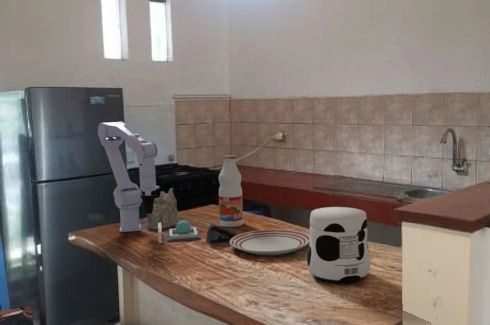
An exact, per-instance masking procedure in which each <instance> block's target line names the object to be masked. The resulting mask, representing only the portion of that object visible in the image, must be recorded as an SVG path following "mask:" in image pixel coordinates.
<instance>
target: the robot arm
mask: <svg viewBox="0 0 490 325" xmlns="http://www.w3.org/2000/svg"><path fill="white" fill-rule="evenodd" d="M97 136H98V138H99V141H100V144H101V146H103V147H104V151H105V152H106V155H107V158H108V160H109V164H110V167H111V170H112V173H113V175H114V179H115V182H116V185H117V186H116V187H115V188H114V191H113V197H114V203H115V204H114V205H115V206H116V207H117V209H119V214H120V215H119V216H120V227H119V233H127V232H128V233H129V232H139V231H141V230H142V229H141V228H142V223H140V210H139V208H140V207H141V205H142V203H143V206H144V210H145V213H146V215H148V214H152V212H153V204H154V200H155V198H157V194H156V192H157V190H158V189H160V186H159V185H157V182H156V181H157V180H156V162H155V158H156V157H157V155H158V147H157V145H156V143H154V141H150V142H149V141H147V140H146V139H144V138H143V137H141V136H140V134H139V133H132V132H131V131H130V130H129V129H128V128H127V125H126V123H125V122H123V121H117V122H116V121H115V122H114V121H113V122H100V123H99V124H98V126H97ZM123 141H125V142H126V145H127V147H128V148H130V149H131V150H132V151H133V152H134V154H135V157H136V159H137V164H138V170H139V171H138V172H139V184H140V185H138V184H136V183H134V182H132V181H131V180H130V176H129V173H128V170H127V168H126V167H127V166H126V164H125V162H124V160H123V156H122V154H121V151H120V147H119V146H120V145H122V144H123V143H124V142H123Z"/></svg>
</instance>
